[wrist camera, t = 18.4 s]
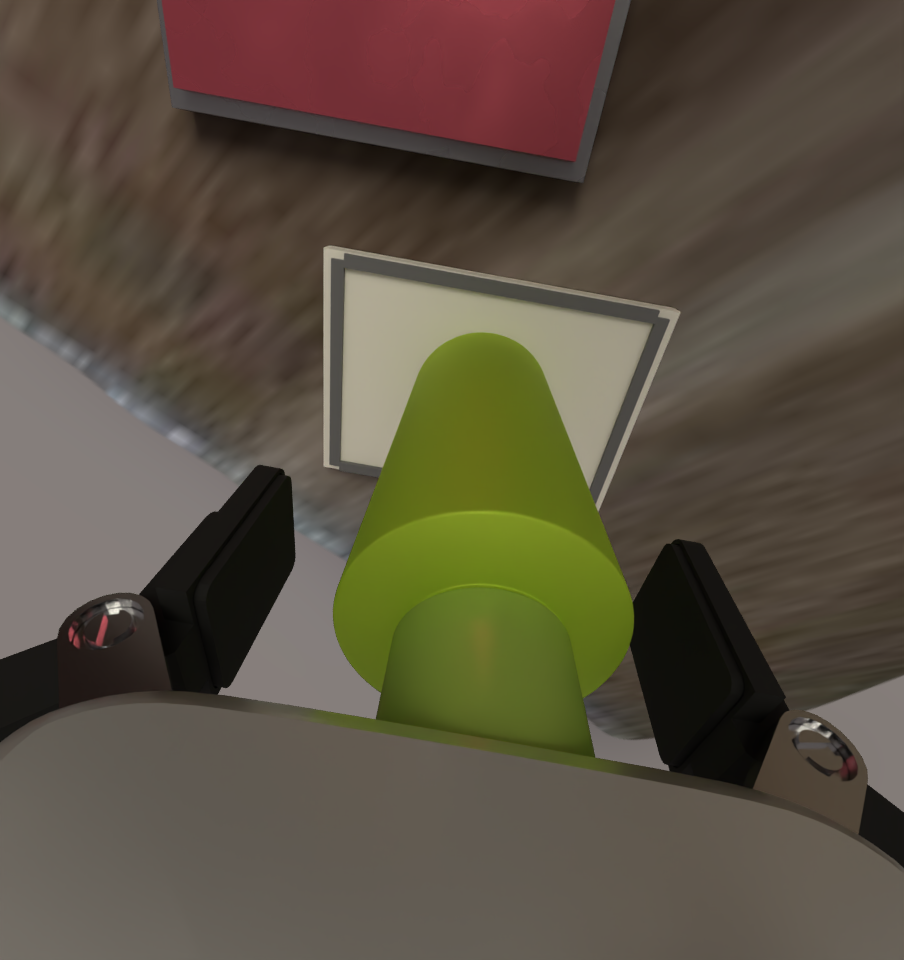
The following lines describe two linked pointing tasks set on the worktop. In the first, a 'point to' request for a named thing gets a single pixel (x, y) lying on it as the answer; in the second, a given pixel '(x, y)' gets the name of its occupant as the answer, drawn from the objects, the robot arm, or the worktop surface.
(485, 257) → the worktop surface
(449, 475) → the soap dispenser
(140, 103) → the worktop surface
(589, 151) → the ink pad
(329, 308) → the marked card
